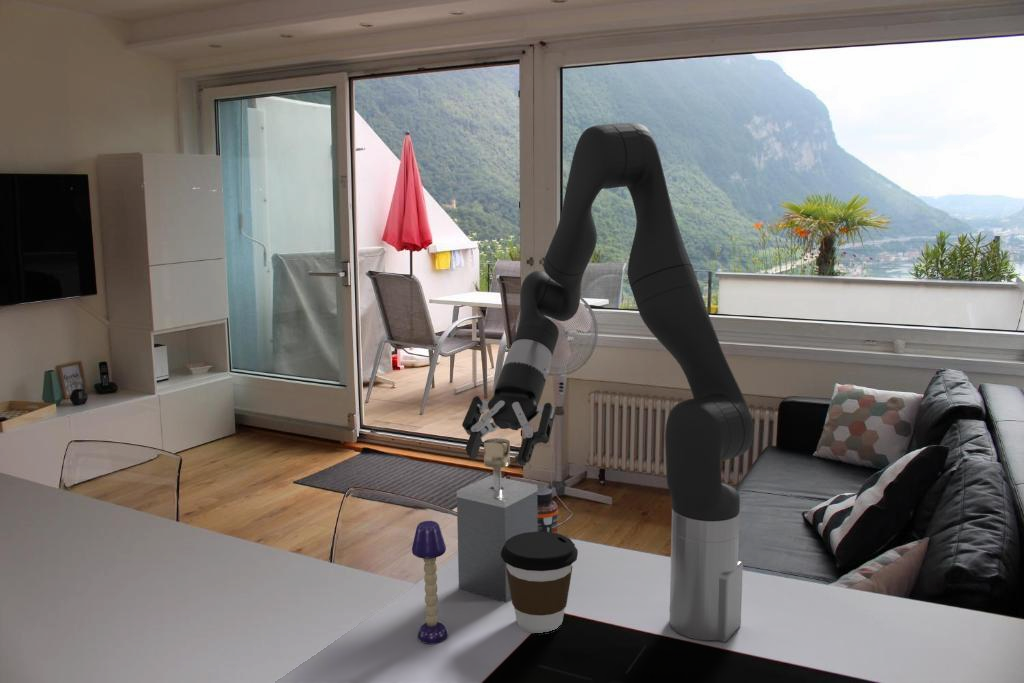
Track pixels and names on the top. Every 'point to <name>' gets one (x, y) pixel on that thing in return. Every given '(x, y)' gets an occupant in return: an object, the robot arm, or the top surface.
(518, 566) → the coffee cup
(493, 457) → the tan rounded stemmed piece
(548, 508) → the supplement bottle
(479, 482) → the block with hole
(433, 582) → the toy lamp
